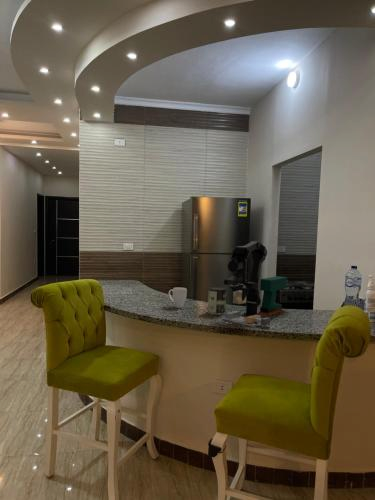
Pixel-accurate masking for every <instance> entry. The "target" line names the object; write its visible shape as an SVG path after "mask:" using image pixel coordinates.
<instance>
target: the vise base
mask: <svg viewBox="0 0 375 500" xmlns="http://www.w3.org/2000/svg"><path fill="white" fill-rule="evenodd" d="M224 315H225V316H222V320H225V321H228V322H233V323H236V324H239V325H240V324H241V325H244V326H247V325H248V327H252V328H255V327H259V326H262V325H261V323H258V322H253V323H247V322H245V317H246V316H242V315H241V311H239V310H233V311H229V312H225V314H224Z"/></svg>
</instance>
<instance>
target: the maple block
mask: <svg viewBox="0 0 375 500" xmlns="http://www.w3.org/2000/svg"><path fill="white" fill-rule="evenodd" d="M232 293H233V294H232V296H233V297H232V303H233V304H236V305H237V304H238V305H241V304H247V303H246V297H245V299H244V301H242V289H241V290H240V289H239V291H234V292H233V291H232Z"/></svg>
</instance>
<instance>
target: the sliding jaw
mask: <svg viewBox="0 0 375 500" xmlns="http://www.w3.org/2000/svg"><path fill="white" fill-rule="evenodd" d="M244 317H245V322H247V323H253V322H258V323H261V325H260V326H268V325H270V324H271V318H270V317H262V316H261V315H260V314H259V315H253V316H251V315H247V316H244Z"/></svg>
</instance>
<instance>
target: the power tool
mask: <svg viewBox="0 0 375 500" xmlns="http://www.w3.org/2000/svg"><path fill="white" fill-rule="evenodd" d="M288 281H289V280H288V277H287V276H278V275H276V276H270V277H266V278H265V277H263V278H260V282H259V283H260V285H259V286H260V287H259V290H260V291H263V294H262V300H261V304H260V307H259V311H258V314H259V315H264V316H271V315H273V314H274V315H275V314H278V313H280V312H283V311H282V310H284V308H283V307H282V305H283V304H282V303H281V304H280V303H277V302H276V298H277V296H279V291H280V290H283V289H287V285H288Z"/></svg>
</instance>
